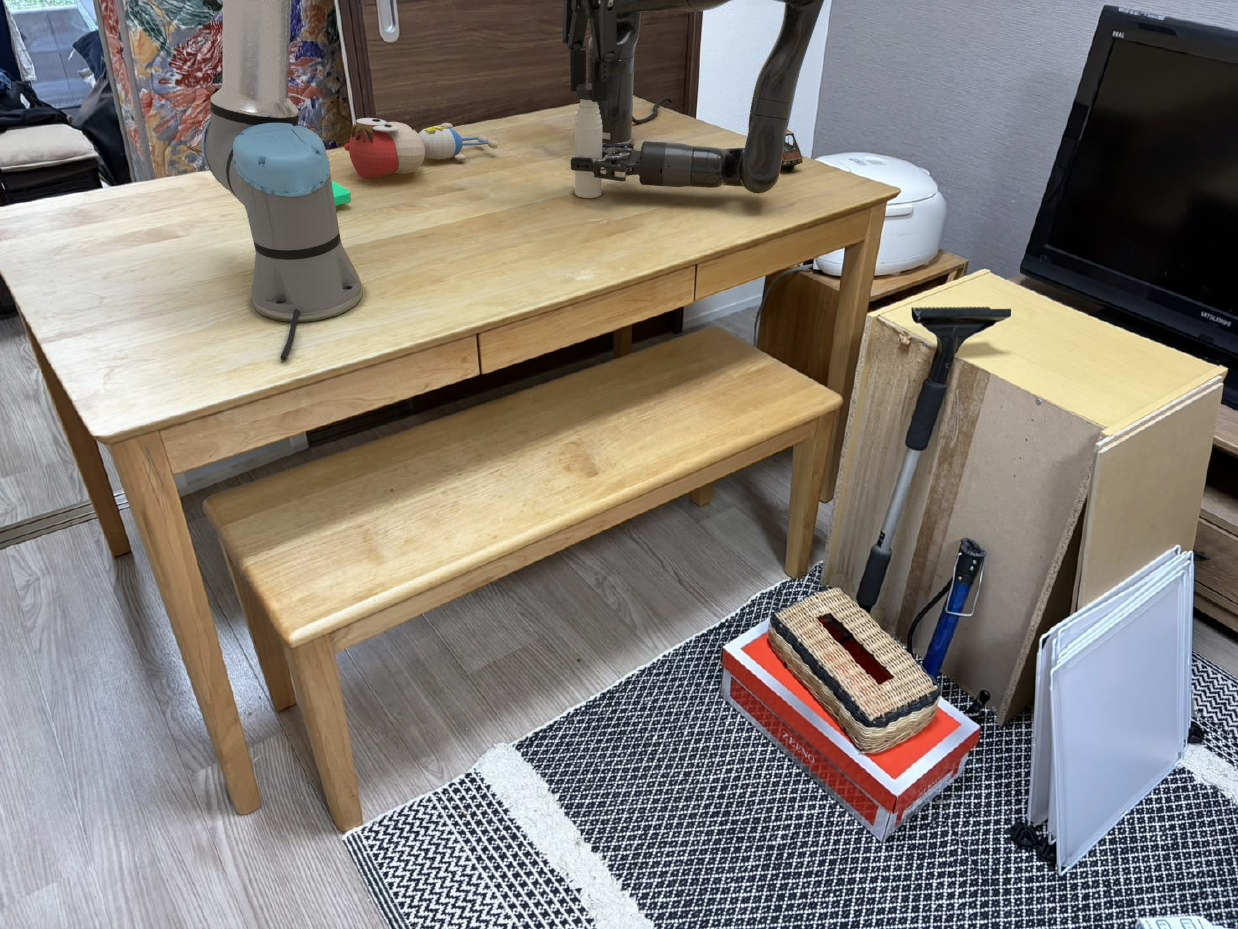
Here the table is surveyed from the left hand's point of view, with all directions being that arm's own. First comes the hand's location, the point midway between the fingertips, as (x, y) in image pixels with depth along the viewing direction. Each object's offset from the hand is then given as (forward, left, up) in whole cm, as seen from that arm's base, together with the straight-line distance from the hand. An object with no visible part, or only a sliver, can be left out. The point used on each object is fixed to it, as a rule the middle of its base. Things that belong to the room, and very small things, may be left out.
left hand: (588, 95), depth 161 cm
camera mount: (+17, +45, -17) cm, 51 cm away
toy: (+27, +22, -17) cm, 39 cm away
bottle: (0, 0, -17) cm, 17 cm away
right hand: (+2, +2, -11) cm, 11 cm away
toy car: (-3, -41, -17) cm, 45 cm away
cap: (0, 0, +1) cm, 1 cm away
